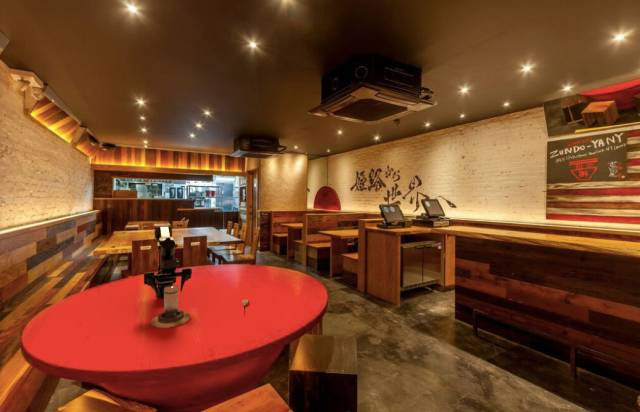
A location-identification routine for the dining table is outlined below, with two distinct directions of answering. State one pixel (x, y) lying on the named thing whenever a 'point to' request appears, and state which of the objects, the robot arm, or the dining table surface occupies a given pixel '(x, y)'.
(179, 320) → the collar board
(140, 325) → the dining table surface
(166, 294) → the grey lidded canister
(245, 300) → the fork
